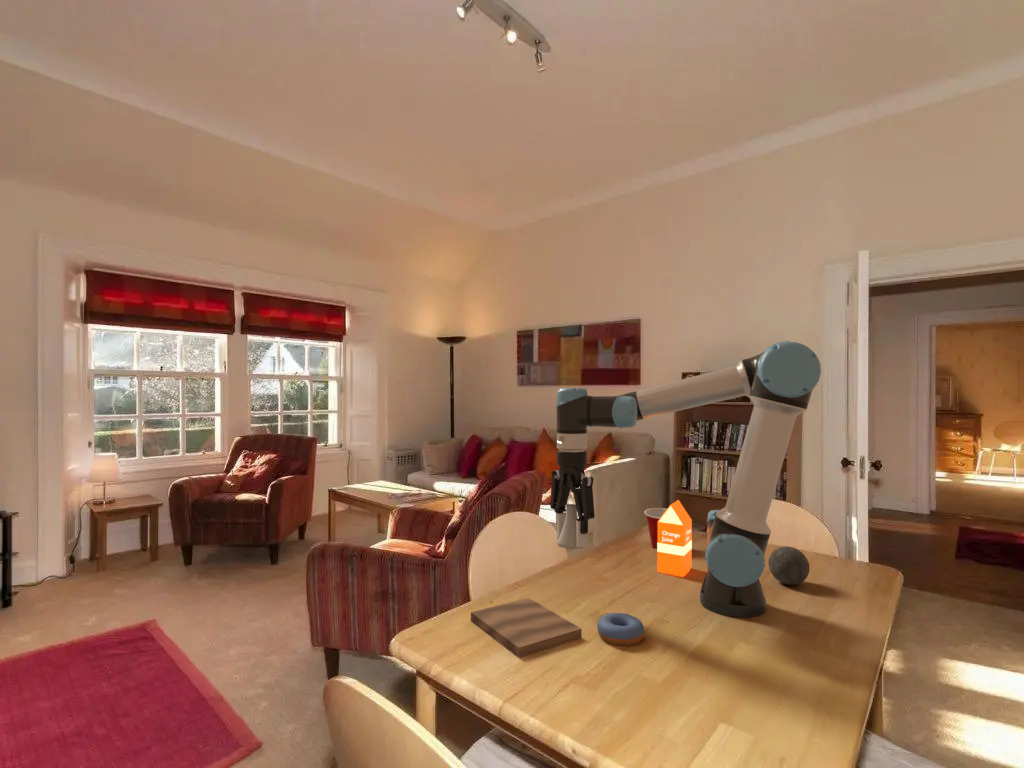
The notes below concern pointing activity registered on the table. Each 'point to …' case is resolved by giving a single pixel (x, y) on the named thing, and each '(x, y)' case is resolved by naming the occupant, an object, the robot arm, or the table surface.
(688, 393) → the robot arm
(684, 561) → the orange juice
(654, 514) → the plastic cup
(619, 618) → the doughnut
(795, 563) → the decorative ball
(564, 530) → the flask
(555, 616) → the walnut board
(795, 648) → the table surface
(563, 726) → the table surface
